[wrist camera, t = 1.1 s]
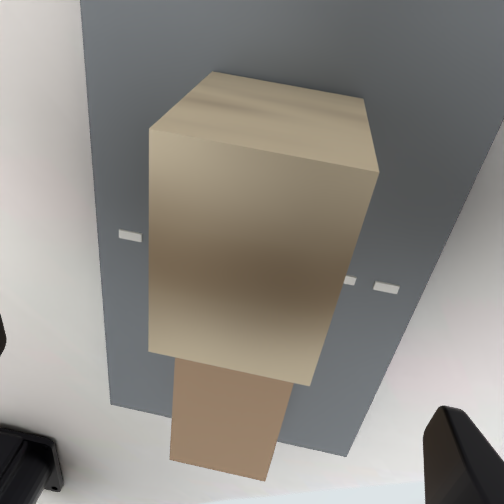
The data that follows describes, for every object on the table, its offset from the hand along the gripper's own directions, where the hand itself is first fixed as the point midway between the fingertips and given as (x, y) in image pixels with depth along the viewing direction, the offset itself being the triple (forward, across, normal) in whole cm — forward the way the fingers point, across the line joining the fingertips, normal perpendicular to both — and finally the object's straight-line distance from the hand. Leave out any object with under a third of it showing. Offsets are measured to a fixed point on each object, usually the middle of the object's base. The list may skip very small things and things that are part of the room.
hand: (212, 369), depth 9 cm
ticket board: (+10, 0, +4) cm, 11 cm away
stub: (+9, 0, 0) cm, 9 cm away
